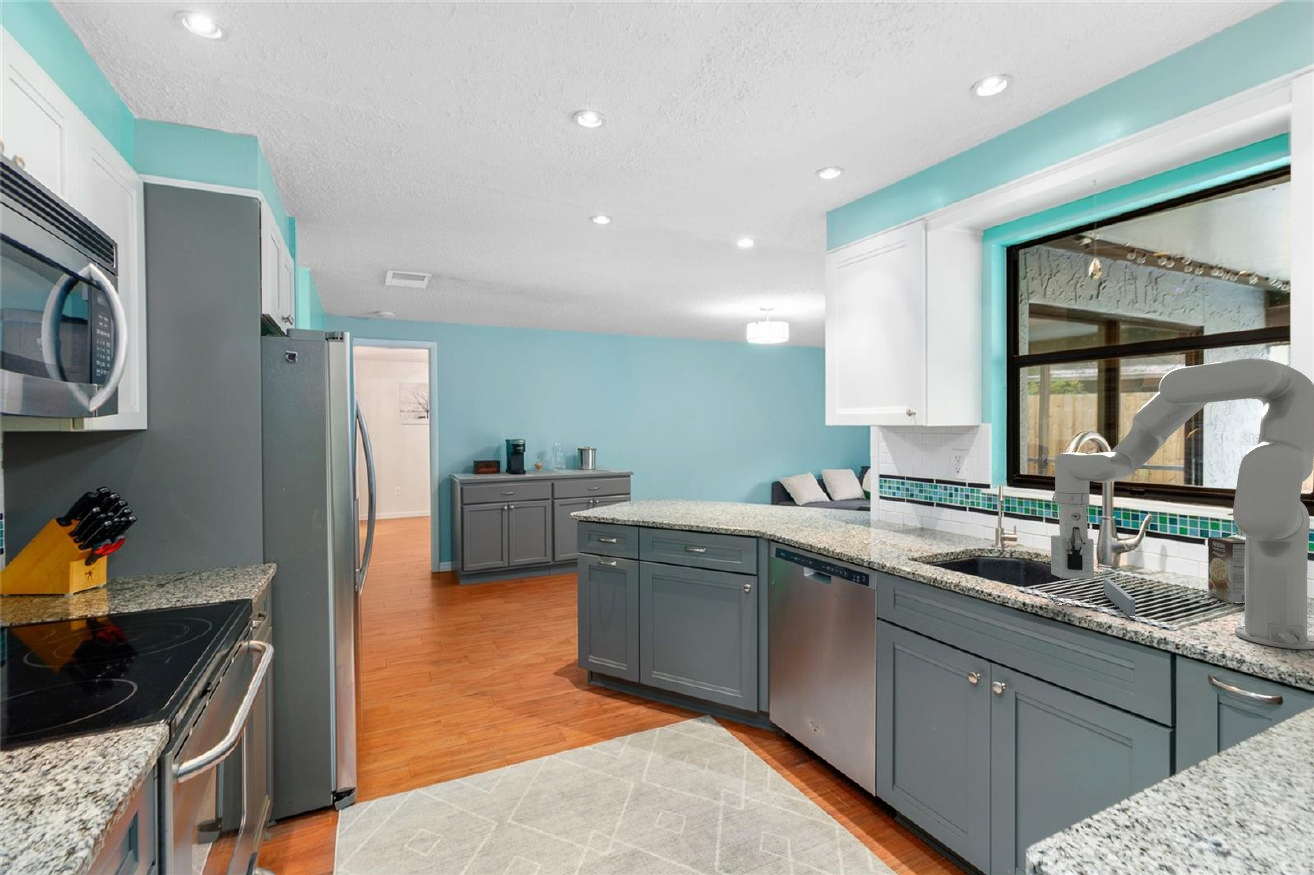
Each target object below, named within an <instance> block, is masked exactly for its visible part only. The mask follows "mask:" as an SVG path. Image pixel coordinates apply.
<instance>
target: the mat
mask: <svg viewBox="0 0 1314 875" xmlns="http://www.w3.org/2000/svg"><path fill="white" fill-rule="evenodd" d="M1052 598H1089V597H1088V596H1079V595H1068V594H1066V595H1065V594H1057V597H1052ZM1052 598H1051V599H1052ZM1053 600H1054V601H1053ZM1053 600H1052V601H1053V603H1055V602H1062V601H1058V600H1055V599H1053ZM1089 602H1093V600H1091V598H1089ZM1056 604H1059V603H1056ZM1056 604H1055V605H1056ZM1062 605H1067V604H1062ZM1073 606H1074V605H1073ZM1073 606H1072V607H1073Z"/></svg>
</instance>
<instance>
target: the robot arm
mask: <svg viewBox="0 0 1314 875" xmlns="http://www.w3.org/2000/svg"><path fill="white" fill-rule="evenodd" d="M1250 399H1252V400H1257V401H1260V402H1261V403H1262V405H1263V412H1262V415H1261V420H1260V423H1259V424H1260V425H1259V427H1260V428H1259V434H1258V440H1257V444H1256V445H1255V446H1254V447H1252V448H1250V449H1249V450H1247V452H1246V453H1245V454H1244V455H1243V457H1242V458H1241V462H1240V464H1239V468H1238V475H1237V480H1236V487H1235V488H1236V489H1235V495H1234V500H1233V501H1234V502H1233V509H1232V516H1233V517H1232V518H1233V521H1234V524H1235V526H1236V527H1237V529H1238V530H1239V531H1240V532H1241V533H1242V534H1244V535H1245V539H1244V540H1245V568H1244V579H1245V604H1244V625H1241V626H1237V627H1235V628H1234V633H1235V635H1236V636H1237V637H1239V638H1241V639H1243V640H1246V641H1248V642H1252V643H1257V644H1259V645H1265V646H1269V647H1275V648H1283V649H1288V650H1289V649H1290V650H1314V637H1312V636H1309V635H1308V562H1309V560H1308V552H1309V551H1308V550H1309V549H1308V548H1309V536H1310V527H1311V526H1310V524H1311V522H1310V520H1311V519H1310V514H1309V511H1308V509H1307V507H1306V505H1305V504H1304V503H1303V502H1302V501H1301V494H1302V489H1303V483H1304V482H1305V481H1306V480H1308V479H1309V477H1311V475H1312V473H1313V470H1314V383H1313V382H1312V381H1311V379H1309V377H1308V376H1307V375H1305V373H1304V374H1303V373H1302V372H1301V371H1299V370H1297V369H1295V368H1294V367H1291V366H1288V365H1285V364H1283V363H1280V362H1278V361H1274V360H1270V359H1264V358H1260V357H1258V358H1256V357H1248V358H1240V359H1233V360H1227V361H1219V362H1213V363H1211V362H1210V363H1205V364H1197V365H1190V366H1182V367H1178V368H1175V369H1173V370H1170V371H1168V372H1167V373H1165V375H1163V377H1162V378H1161V380H1160V382H1159V384H1158V393H1156V394H1155V395H1154V396H1153V397H1152V398H1151V399H1150V400H1148V402H1147V403H1145V404H1144V405H1143V406H1142V407H1141V409H1139V410H1138V411H1137V412H1136V413H1135V414H1134V416H1133V417H1132V426H1131V428H1130V430H1129V432H1128V433H1127V434H1126V435H1125V437H1124V438H1123V439H1121V441H1120V442H1119V443H1118V444H1117V445H1115V446H1114V448H1112V449H1111V450H1109V452H1108V451H1107V452H1097V453H1087V454H1086V453H1083V452H1059V453H1057V454H1056V455H1055V459H1054V460H1055V461H1054V462H1055V468H1054V469H1055V470H1054V471H1055V472H1054V475H1055V476H1054V478H1055V479H1054V485H1055V486H1054V488H1055V494H1054V498H1055V500H1054V502H1055V503H1054V504H1055V505H1057V506H1059V521H1058V522H1059V524H1058V525H1059V526H1058V527H1059V535H1060V536H1062V537H1064V538H1065V540H1066V542H1067V543H1068V548H1069V554H1067V568H1068V569H1070V570H1082V569H1083V555H1082V545H1081V539H1082V542H1083V543H1085V544H1087V543H1088V538H1089V535H1088V534H1089V533H1088V532H1089V530H1088V513H1087V507H1089V506H1090V482H1093V483H1101V484H1102V483H1106V484H1107V483H1112V482H1119V481H1124V480H1125V479H1128V478H1129V477H1130V476H1132V475H1133V474H1134V473H1135V472H1137V470H1139V469H1140V468H1141V467H1142V466H1143V465H1145V464H1146V463H1147V462H1148V461H1149V460H1151V458H1152V457H1153V456H1154V455H1155V454H1157V452H1158V451H1159V449H1160V448H1162V446H1163V445H1164V444H1166V442H1167V440H1168V439H1169V438H1170V437H1171V436H1173V434H1174V433H1175V432H1176V431H1178V430H1179V429H1180V428H1181V427H1182V426H1183V425H1184V424H1185V423H1187V422H1188V421H1189V420H1190V419H1191V418H1192V417H1193V416H1194V415H1195V414H1197V413H1198V412H1200V410H1202V408H1204V407H1205V406H1206V405H1207V404H1209V403H1218V402H1226V401H1227V402H1228V401H1237V400H1238V401H1239V400H1250ZM1070 540H1074V542H1070ZM1072 545H1073V546H1072Z"/></svg>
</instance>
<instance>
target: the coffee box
mask: <svg viewBox="0 0 1314 875" xmlns="http://www.w3.org/2000/svg"><path fill="white" fill-rule="evenodd" d="M1207 537H1208V538H1207V541H1208V545H1207V546H1208V549H1207V550H1208V552H1207V553H1208V555H1207V556H1208V557H1207V558H1208V559H1207V563H1208V564H1207V565H1208V566H1207V567H1208V568H1207V572H1208V573H1207V578H1208V580H1207V582H1208V584H1207V586H1208V587H1207V588H1208V589H1207V590H1208V591H1207V594H1209V596H1210V597H1214V598H1216V599H1218V598H1219V600H1222V601H1223V602H1227V603H1229V602H1231V603H1230V604H1233V602H1234V603H1235V602H1242V603H1243V602H1245V579H1244V568H1245V539H1242V538H1239V537H1234V536H1207Z"/></svg>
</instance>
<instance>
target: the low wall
mask: <svg viewBox="0 0 1314 875" xmlns="http://www.w3.org/2000/svg"><path fill="white" fill-rule="evenodd" d="M1104 594H1105V595H1106V596H1105V595H1104ZM1103 595H1104V596H1105V597H1106V598H1107V599H1108V598H1109V599H1110V600H1109V599H1108V600H1109V601H1110V602H1112V603H1113V604H1114V605H1115V606H1116V607H1117V608H1118V607H1119V608H1120V609H1121V610H1122V611H1123V612H1125V613H1126V614H1127V615H1128V616H1135V617H1136V598H1134V597H1132V595H1130V594H1129V593H1127V591H1125V590H1124V589H1123V588H1122V587H1121V586H1120V585H1118V584H1117V583H1116V582H1114V581H1113V580H1111V578H1108V577H1103ZM1119 608H1118V609H1119ZM1120 609H1119V610H1120ZM1121 610H1120V611H1121ZM1122 611H1121V612H1122ZM1123 612H1122V613H1123ZM1125 613H1124V614H1125ZM1126 614H1125V615H1126ZM1127 615H1126V616H1127ZM1128 616H1127V617H1128Z"/></svg>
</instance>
